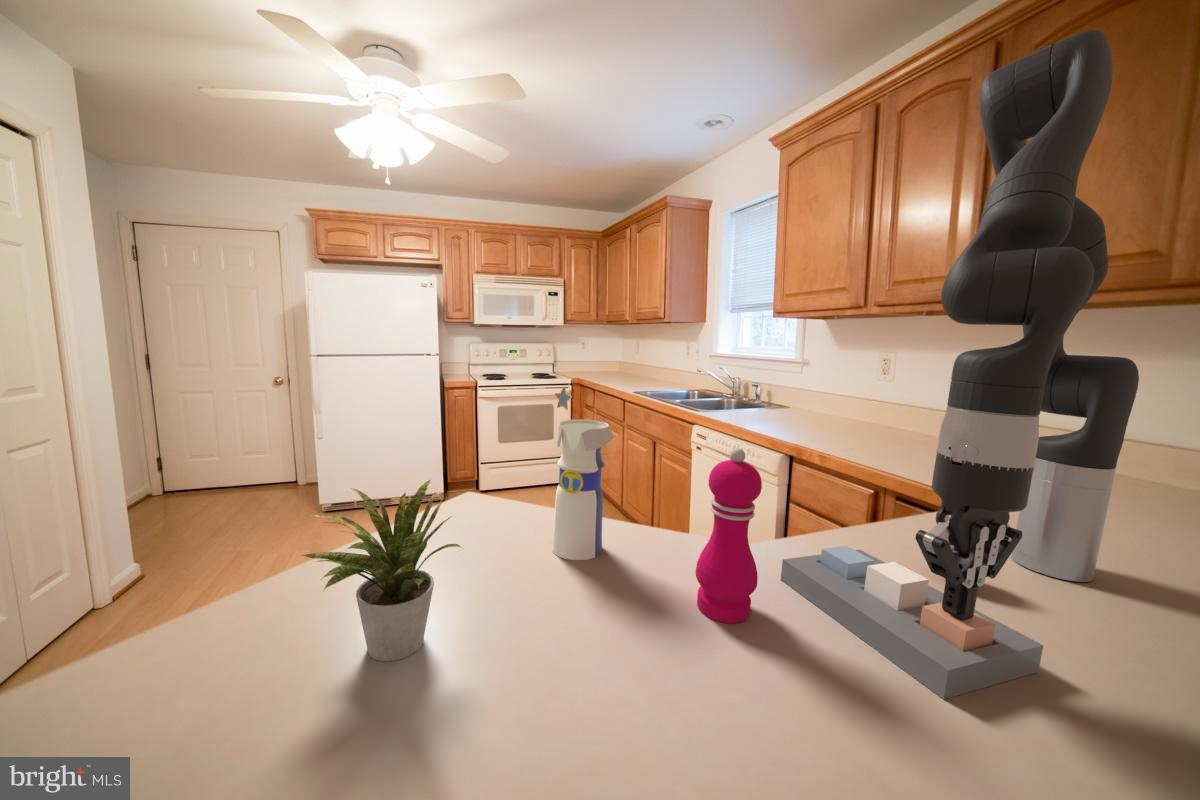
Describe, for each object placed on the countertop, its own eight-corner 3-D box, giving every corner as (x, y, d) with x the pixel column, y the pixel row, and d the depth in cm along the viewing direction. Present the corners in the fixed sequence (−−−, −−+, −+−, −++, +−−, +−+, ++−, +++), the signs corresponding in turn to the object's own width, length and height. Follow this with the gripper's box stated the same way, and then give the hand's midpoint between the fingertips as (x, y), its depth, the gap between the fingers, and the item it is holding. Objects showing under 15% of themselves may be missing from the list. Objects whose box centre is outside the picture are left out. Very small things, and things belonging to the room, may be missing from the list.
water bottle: (594, 567, 64) (604, 390, 61) (540, 554, 67) (546, 385, 63) (613, 544, 71) (622, 386, 68) (563, 533, 74) (570, 381, 71)
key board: (857, 568, 68) (859, 549, 67) (1038, 671, 47) (1043, 645, 47) (780, 579, 63) (782, 559, 63) (943, 699, 42) (948, 670, 42)
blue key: (843, 572, 64) (846, 545, 64) (870, 589, 60) (874, 560, 60) (818, 576, 63) (821, 548, 62) (844, 593, 59) (848, 564, 58)
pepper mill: (754, 599, 58) (770, 445, 55) (753, 633, 51) (772, 459, 48) (696, 587, 60) (709, 438, 57) (688, 617, 53) (703, 450, 51)
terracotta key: (945, 633, 51) (950, 600, 51) (989, 660, 47) (995, 624, 47) (917, 640, 50) (922, 606, 49) (959, 667, 46) (966, 631, 45)
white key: (889, 591, 58) (893, 561, 57) (923, 611, 53) (928, 579, 53) (863, 596, 56) (867, 565, 56) (896, 617, 52) (901, 584, 52)
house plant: (358, 596, 54) (356, 462, 52) (477, 598, 55) (480, 466, 53) (282, 687, 40) (275, 507, 38) (443, 688, 41) (445, 512, 38)
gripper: (986, 445, 51) (961, 588, 54) (900, 447, 47) (877, 603, 49) (1071, 462, 44) (1039, 627, 47) (980, 467, 40) (949, 648, 42)
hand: (956, 614), depth 48 cm, fingers closed
